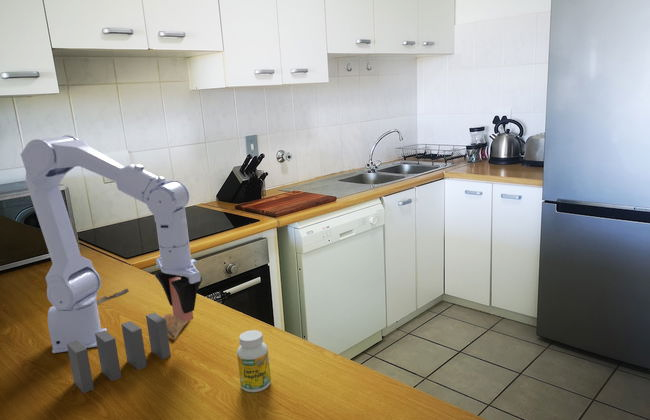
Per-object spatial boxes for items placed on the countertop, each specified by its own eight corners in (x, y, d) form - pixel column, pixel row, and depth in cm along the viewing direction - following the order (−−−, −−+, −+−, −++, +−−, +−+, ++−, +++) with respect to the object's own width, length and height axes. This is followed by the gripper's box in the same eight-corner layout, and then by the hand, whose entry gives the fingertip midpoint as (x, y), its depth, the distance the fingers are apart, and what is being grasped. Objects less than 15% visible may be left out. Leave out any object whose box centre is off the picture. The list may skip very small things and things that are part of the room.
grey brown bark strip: (82, 305, 128) (89, 311, 125) (81, 301, 128) (88, 307, 125) (126, 290, 136) (134, 295, 133) (125, 286, 136) (133, 291, 132)
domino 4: (162, 359, 98) (157, 322, 96) (151, 351, 102) (145, 315, 100) (170, 356, 99) (165, 319, 97) (159, 348, 103) (154, 312, 101)
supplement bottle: (269, 374, 91) (264, 326, 89) (272, 390, 86) (268, 339, 84) (239, 379, 90) (234, 330, 88) (241, 395, 85) (236, 345, 83)
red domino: (185, 322, 99) (180, 284, 97) (173, 314, 102) (168, 278, 100) (193, 318, 100) (189, 281, 98) (181, 312, 103) (176, 275, 101)
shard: (174, 343, 105) (173, 336, 105) (140, 343, 106) (139, 336, 106) (192, 320, 116) (191, 313, 115) (161, 321, 117) (160, 313, 116)
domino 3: (138, 370, 95) (132, 332, 93) (127, 361, 98) (121, 324, 96) (147, 366, 96) (141, 328, 94) (136, 357, 99) (130, 321, 98)
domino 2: (111, 381, 91) (105, 342, 90) (101, 371, 95) (94, 333, 93) (121, 377, 93) (115, 338, 91) (111, 367, 96) (104, 330, 94)
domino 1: (83, 393, 88) (76, 352, 86) (74, 382, 92) (66, 343, 90) (94, 389, 89) (86, 348, 87) (84, 378, 93) (77, 340, 91)
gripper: (211, 245, 95) (218, 311, 98) (175, 232, 105) (182, 292, 108) (177, 254, 90) (185, 323, 93) (143, 240, 100) (151, 302, 104)
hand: (182, 307), depth 100 cm, fingers closed on red domino, 5 cm apart
